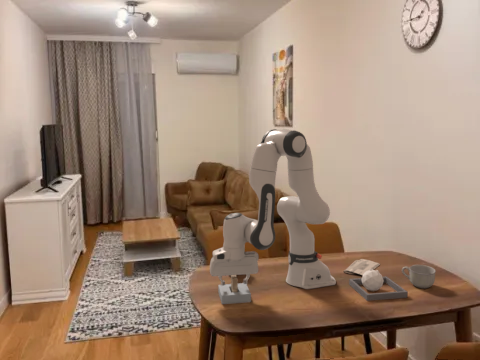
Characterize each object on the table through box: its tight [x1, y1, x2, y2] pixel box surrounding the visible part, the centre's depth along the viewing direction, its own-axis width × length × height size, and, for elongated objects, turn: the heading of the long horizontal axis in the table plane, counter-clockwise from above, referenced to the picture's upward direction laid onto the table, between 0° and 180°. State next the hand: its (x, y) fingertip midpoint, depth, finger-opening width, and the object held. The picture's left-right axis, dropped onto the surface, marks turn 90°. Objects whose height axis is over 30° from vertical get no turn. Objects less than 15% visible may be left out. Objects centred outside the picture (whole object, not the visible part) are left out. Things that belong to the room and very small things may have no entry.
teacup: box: [401, 264, 437, 289], centre depth 196 cm, size 14×11×8 cm
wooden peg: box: [230, 275, 239, 293], centre depth 183 cm, size 2×5×8 cm, turn 9°
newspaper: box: [343, 258, 381, 276], centre depth 218 cm, size 23×12×2 cm, turn 144°
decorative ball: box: [361, 269, 384, 292], centre depth 191 cm, size 9×10×12 cm
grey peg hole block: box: [217, 282, 252, 305], centre depth 184 cm, size 12×12×4 cm
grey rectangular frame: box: [348, 276, 409, 302], centre depth 190 cm, size 18×18×2 cm
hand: (234, 284), depth 183 cm, fingers open, 8 cm apart
